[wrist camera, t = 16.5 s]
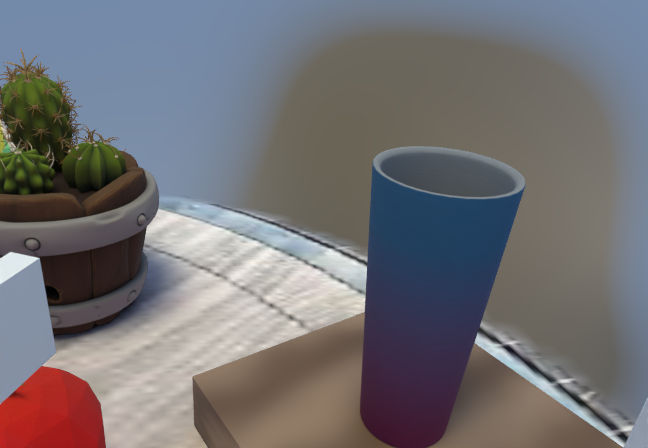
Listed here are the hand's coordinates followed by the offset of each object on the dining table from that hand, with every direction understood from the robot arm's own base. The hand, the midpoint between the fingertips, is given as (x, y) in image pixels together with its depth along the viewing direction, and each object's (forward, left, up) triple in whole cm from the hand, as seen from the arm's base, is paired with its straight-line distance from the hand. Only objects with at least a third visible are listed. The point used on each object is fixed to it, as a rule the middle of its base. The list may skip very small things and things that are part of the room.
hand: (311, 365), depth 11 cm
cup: (-8, +13, -15) cm, 21 cm away
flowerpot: (-35, +1, -19) cm, 40 cm away
